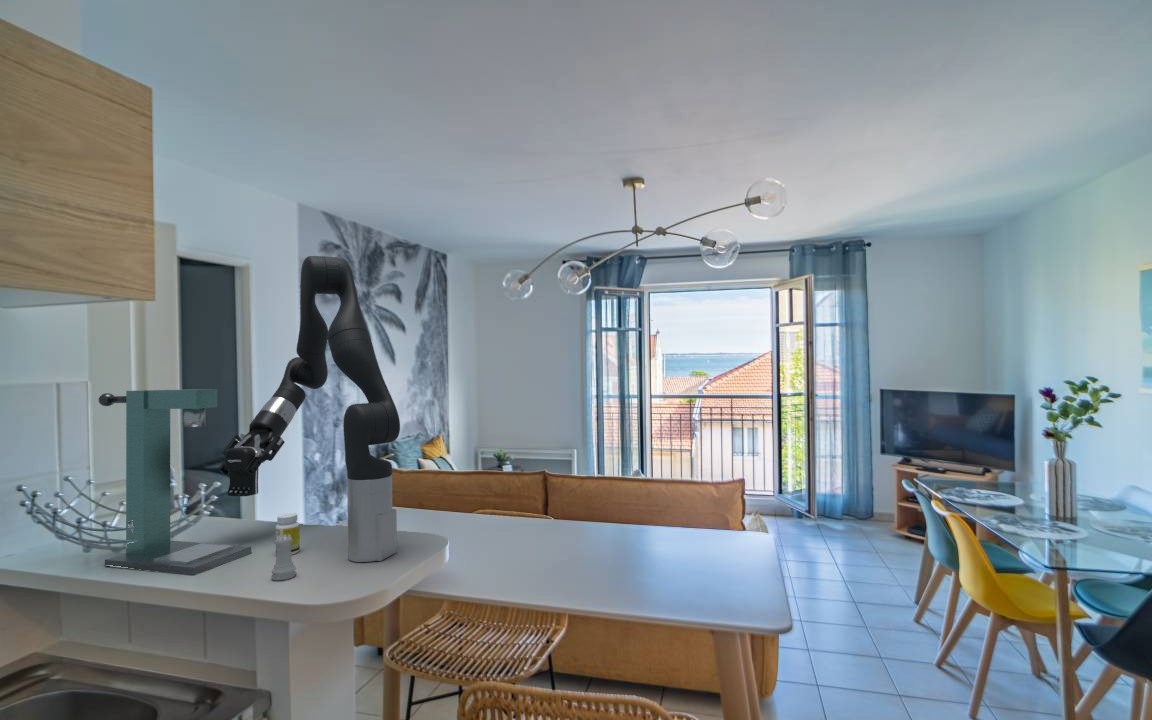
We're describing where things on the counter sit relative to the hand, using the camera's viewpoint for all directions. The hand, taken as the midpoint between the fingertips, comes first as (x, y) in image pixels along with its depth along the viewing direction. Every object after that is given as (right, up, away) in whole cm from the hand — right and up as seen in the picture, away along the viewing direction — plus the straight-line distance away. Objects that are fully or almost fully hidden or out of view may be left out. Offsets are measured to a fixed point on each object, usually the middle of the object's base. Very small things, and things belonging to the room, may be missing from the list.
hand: (235, 472), depth 131 cm
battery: (+1, -6, +1) cm, 6 cm away
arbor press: (-12, -17, -8) cm, 22 cm away
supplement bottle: (+15, -17, -6) cm, 24 cm away
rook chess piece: (+23, -16, -21) cm, 35 cm away
